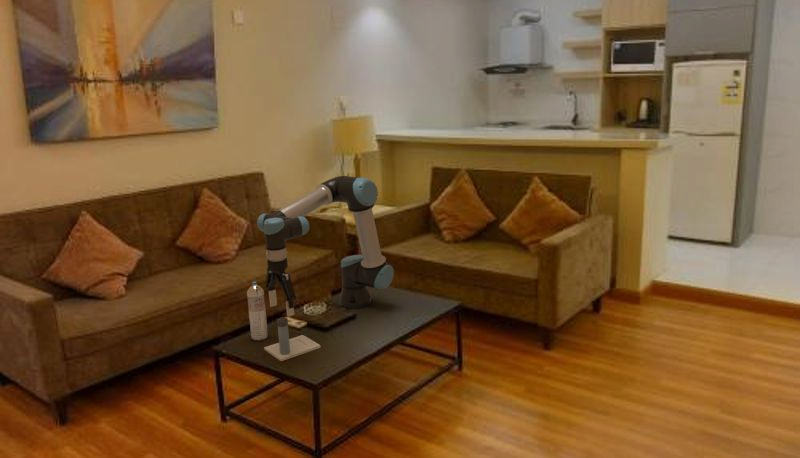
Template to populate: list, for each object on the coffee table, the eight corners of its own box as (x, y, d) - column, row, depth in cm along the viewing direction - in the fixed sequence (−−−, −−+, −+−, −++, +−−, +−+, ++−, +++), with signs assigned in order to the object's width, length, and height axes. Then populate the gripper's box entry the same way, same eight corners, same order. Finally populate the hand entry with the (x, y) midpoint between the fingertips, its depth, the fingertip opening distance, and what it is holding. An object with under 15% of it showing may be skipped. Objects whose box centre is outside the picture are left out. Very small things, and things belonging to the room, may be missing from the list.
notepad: (302, 337, 264) (302, 334, 264) (320, 347, 254) (320, 345, 253) (264, 349, 253) (264, 347, 253) (281, 361, 243) (280, 358, 242)
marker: (287, 349, 251) (284, 316, 247) (292, 352, 248) (289, 319, 244) (277, 352, 248) (274, 319, 245) (283, 355, 245) (280, 322, 242)
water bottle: (251, 342, 261) (246, 285, 254) (251, 335, 267) (245, 280, 261) (268, 339, 262) (263, 283, 256) (267, 333, 269) (262, 278, 263)
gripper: (253, 254, 245) (258, 304, 251) (284, 268, 226) (289, 322, 232) (270, 249, 250) (275, 299, 255) (302, 263, 231) (306, 317, 236)
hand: (282, 310), depth 244 cm, fingers open, 13 cm apart
